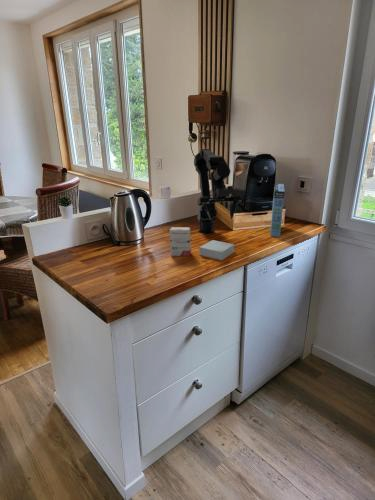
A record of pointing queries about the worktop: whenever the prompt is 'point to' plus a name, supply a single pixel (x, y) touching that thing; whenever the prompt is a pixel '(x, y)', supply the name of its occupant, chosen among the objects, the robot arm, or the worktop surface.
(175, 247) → the ink box
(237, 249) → the worktop surface
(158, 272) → the worktop surface
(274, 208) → the gum box
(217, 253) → the base block
